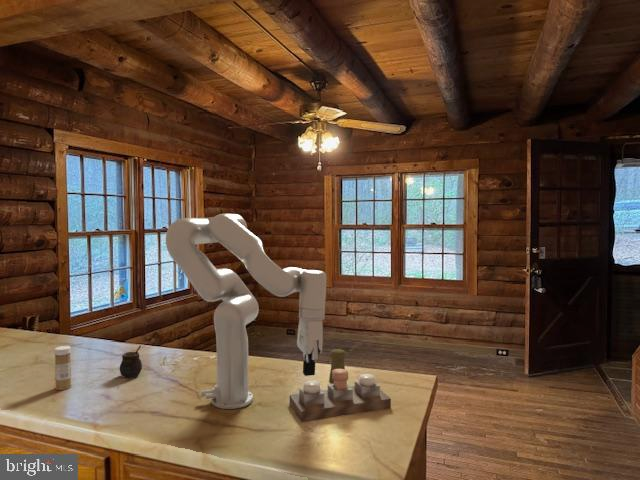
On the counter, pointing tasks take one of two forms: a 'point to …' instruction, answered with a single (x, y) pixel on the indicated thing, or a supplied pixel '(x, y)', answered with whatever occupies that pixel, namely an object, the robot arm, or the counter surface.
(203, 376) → the counter surface
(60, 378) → the sprinkles bottle
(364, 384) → the button far
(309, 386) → the button near
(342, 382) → the button middle
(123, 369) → the mate gourd
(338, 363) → the cork
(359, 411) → the button board
